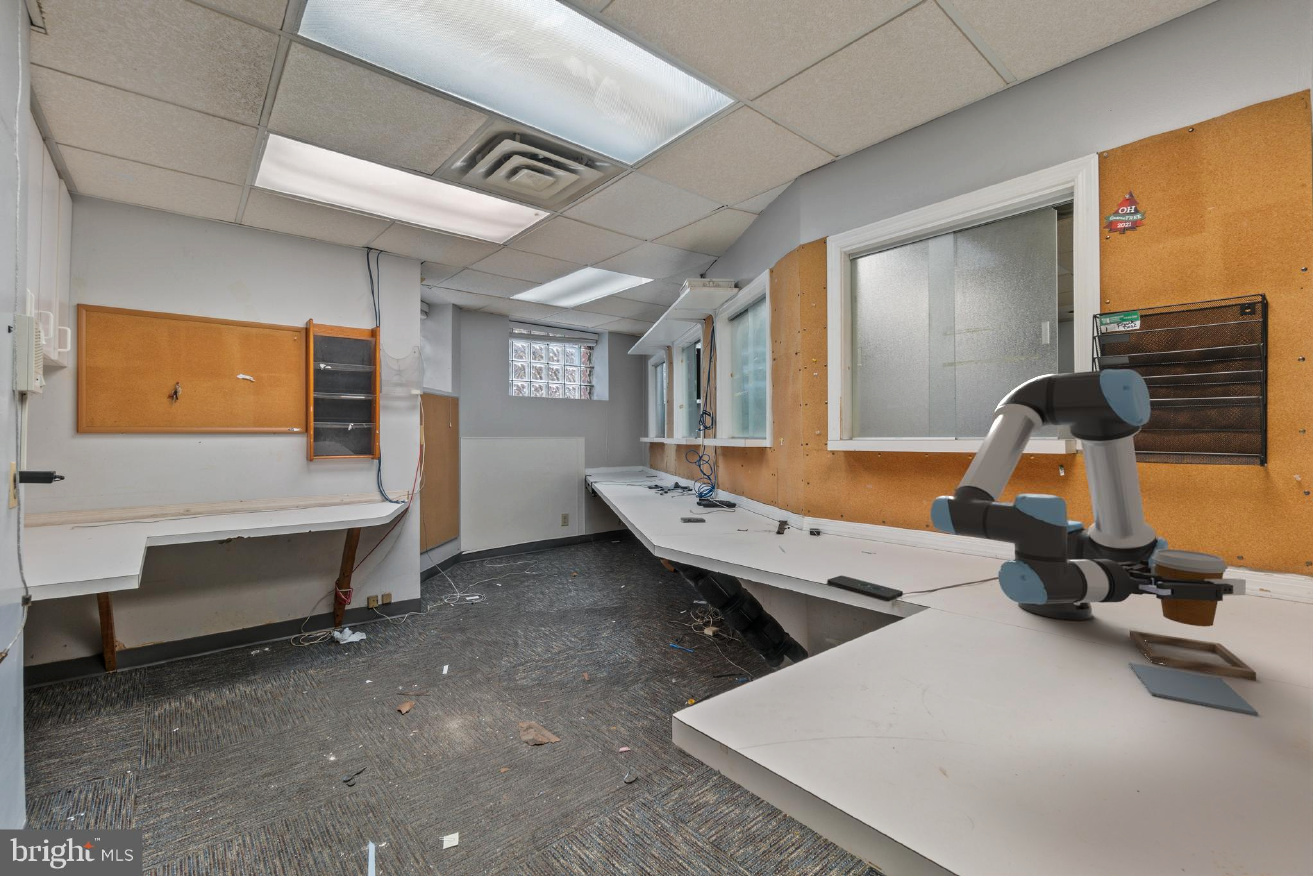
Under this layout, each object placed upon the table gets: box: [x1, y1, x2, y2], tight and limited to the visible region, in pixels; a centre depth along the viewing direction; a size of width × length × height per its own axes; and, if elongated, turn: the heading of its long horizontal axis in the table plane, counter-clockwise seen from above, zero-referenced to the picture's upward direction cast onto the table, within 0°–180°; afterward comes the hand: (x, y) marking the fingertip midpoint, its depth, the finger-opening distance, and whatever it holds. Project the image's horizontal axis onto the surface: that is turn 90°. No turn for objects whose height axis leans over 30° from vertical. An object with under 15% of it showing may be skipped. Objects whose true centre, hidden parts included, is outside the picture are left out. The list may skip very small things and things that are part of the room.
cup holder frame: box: [1128, 629, 1257, 681], centre depth 104 cm, size 14×14×2 cm
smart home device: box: [826, 575, 904, 602], centre depth 149 cm, size 8×2×20 cm
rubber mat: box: [1128, 662, 1259, 716], centre depth 92 cm, size 13×13×1 cm
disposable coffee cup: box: [1152, 548, 1229, 627], centre depth 92 cm, size 10×10×12 cm
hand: (1212, 578), depth 92 cm, fingers closed on disposable coffee cup, 8 cm apart
